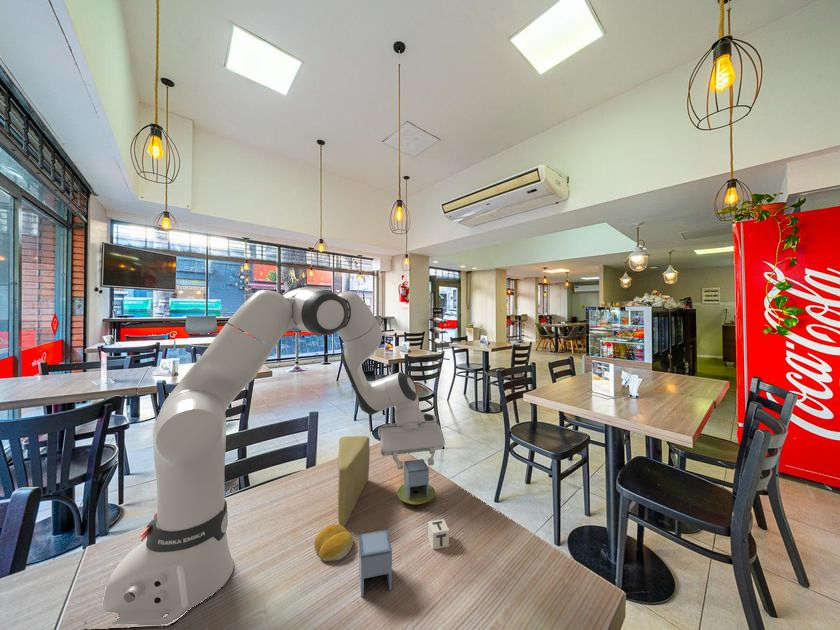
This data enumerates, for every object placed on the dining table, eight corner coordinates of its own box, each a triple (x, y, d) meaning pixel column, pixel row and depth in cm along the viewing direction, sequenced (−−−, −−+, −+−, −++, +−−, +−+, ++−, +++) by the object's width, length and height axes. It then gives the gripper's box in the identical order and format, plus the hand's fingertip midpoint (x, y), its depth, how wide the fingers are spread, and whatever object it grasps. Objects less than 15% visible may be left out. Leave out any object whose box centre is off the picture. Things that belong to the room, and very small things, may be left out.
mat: (429, 514, 85) (429, 507, 85) (391, 505, 88) (391, 499, 88) (439, 491, 95) (439, 484, 95) (405, 484, 99) (405, 478, 99)
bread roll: (326, 570, 67) (326, 551, 67) (310, 545, 73) (310, 529, 73) (360, 550, 72) (360, 533, 72) (342, 529, 79) (342, 514, 79)
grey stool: (408, 499, 88) (408, 471, 88) (403, 487, 94) (403, 461, 94) (428, 496, 90) (428, 468, 89) (423, 484, 95) (423, 459, 95)
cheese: (361, 527, 80) (361, 469, 79) (322, 528, 79) (322, 470, 79) (369, 479, 102) (369, 434, 101) (339, 480, 101) (339, 434, 101)
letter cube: (432, 550, 72) (433, 532, 72) (428, 537, 76) (428, 521, 76) (449, 547, 73) (449, 529, 73) (443, 534, 77) (443, 518, 77)
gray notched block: (361, 596, 60) (361, 556, 60) (359, 571, 66) (359, 534, 66) (391, 590, 62) (392, 550, 62) (387, 565, 67) (387, 529, 67)
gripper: (378, 420, 97) (382, 467, 87) (440, 415, 102) (450, 458, 93) (376, 429, 101) (380, 474, 92) (436, 424, 106) (445, 466, 97)
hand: (416, 466), depth 92 cm, fingers open, 8 cm apart
